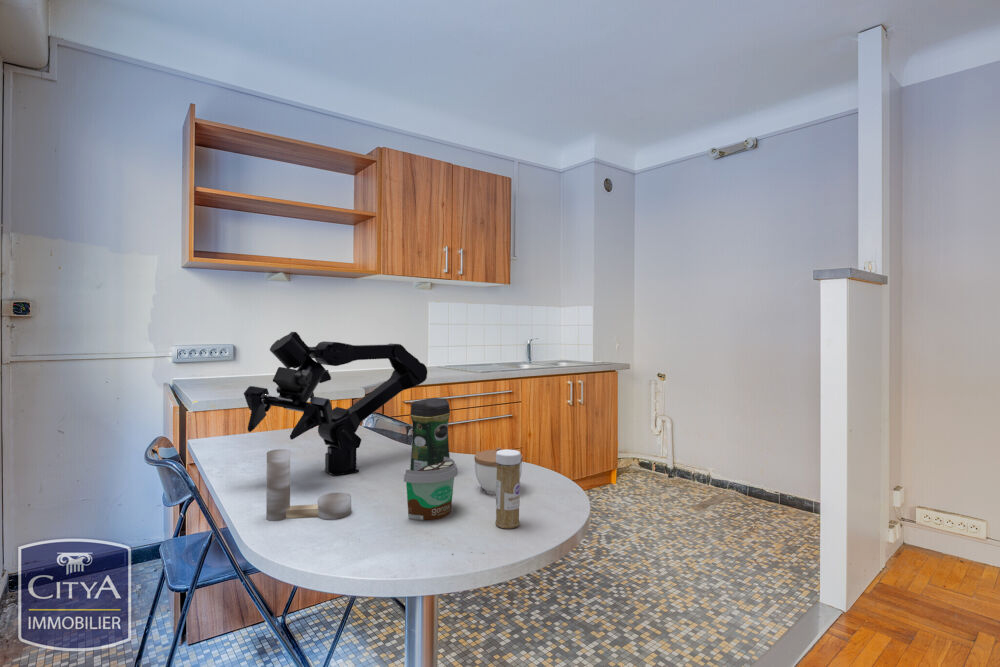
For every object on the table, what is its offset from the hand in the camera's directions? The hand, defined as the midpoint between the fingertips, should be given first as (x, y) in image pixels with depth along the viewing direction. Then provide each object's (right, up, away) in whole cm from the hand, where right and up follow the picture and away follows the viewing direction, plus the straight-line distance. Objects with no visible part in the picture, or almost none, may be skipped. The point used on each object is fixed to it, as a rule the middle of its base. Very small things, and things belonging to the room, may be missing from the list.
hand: (269, 434), depth 105 cm
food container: (+36, -14, -9) cm, 40 cm away
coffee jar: (+31, -14, +19) cm, 38 cm away
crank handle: (+12, -13, -10) cm, 20 cm away
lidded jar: (+47, -14, +8) cm, 50 cm away
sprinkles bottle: (+49, -14, -12) cm, 52 cm away
